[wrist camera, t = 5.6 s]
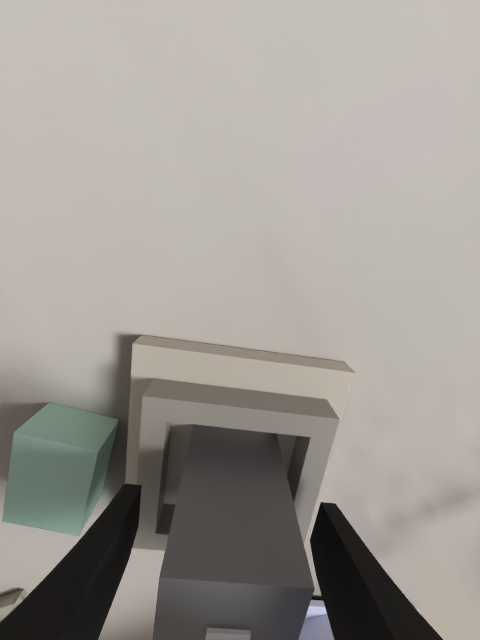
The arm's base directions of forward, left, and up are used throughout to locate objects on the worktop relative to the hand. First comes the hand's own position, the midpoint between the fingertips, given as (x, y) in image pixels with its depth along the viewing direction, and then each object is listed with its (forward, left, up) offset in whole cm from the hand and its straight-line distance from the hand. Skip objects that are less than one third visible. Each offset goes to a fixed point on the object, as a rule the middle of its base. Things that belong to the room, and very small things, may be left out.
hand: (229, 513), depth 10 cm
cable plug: (+8, +1, -4) cm, 9 cm away
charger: (0, 0, -3) cm, 3 cm away
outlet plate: (0, 0, -4) cm, 4 cm away
